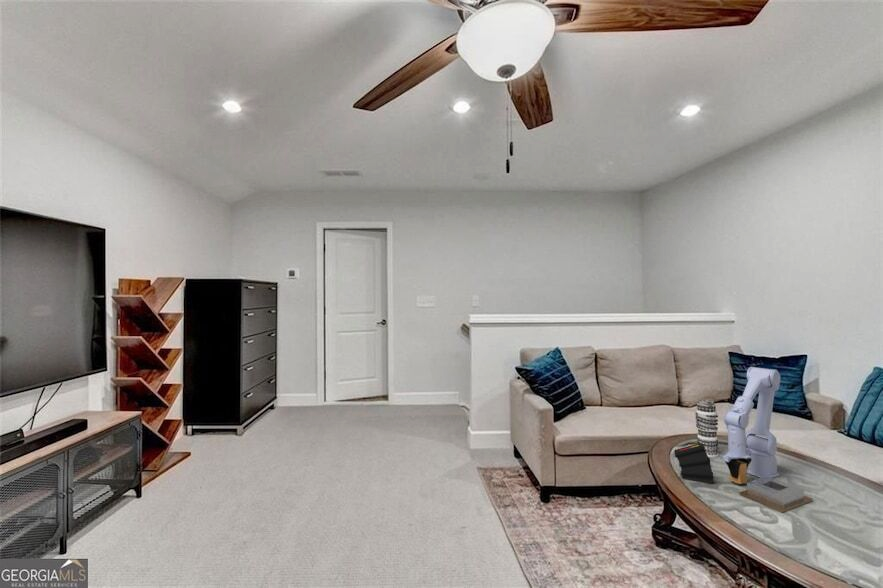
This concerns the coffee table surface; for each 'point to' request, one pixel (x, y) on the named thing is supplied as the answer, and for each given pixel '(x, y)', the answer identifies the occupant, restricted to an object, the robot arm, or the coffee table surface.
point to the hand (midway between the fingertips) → (738, 476)
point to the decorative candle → (707, 426)
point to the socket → (775, 494)
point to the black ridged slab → (694, 463)
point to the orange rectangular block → (740, 474)
